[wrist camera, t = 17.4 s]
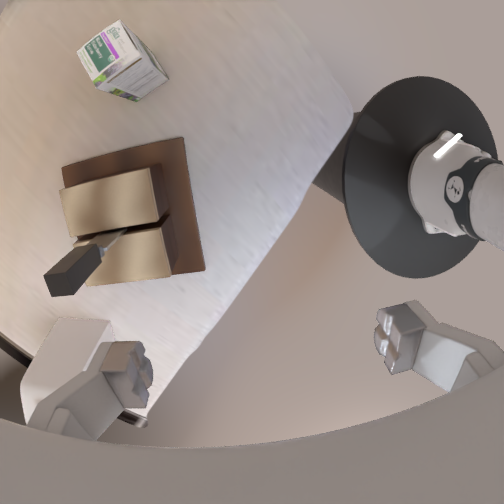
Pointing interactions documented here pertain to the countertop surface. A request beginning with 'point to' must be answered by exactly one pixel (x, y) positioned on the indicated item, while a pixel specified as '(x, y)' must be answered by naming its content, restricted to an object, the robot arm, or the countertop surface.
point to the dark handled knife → (80, 264)
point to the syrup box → (121, 63)
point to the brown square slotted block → (135, 212)
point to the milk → (62, 358)
